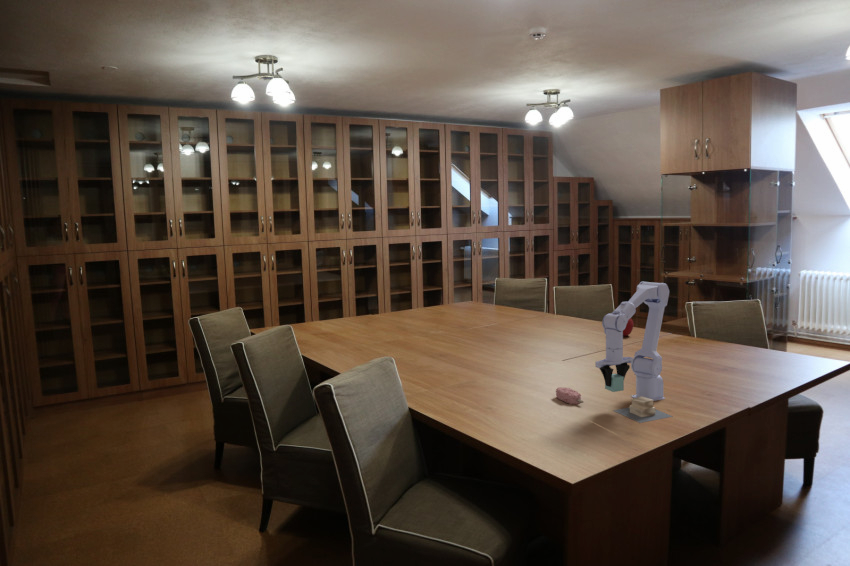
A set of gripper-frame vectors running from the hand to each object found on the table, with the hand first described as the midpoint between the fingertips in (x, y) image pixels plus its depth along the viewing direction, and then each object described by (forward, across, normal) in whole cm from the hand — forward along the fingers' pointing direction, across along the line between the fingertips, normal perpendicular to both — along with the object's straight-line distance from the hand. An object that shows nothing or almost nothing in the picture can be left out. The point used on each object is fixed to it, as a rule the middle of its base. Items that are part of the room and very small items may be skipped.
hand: (614, 384), depth 210 cm
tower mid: (+7, -6, +8) cm, 12 cm away
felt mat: (+9, -6, +8) cm, 13 cm away
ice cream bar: (+10, +8, -16) cm, 20 cm away
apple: (+10, -84, -100) cm, 131 cm away
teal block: (+2, 0, 0) cm, 2 cm away
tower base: (+9, -6, +8) cm, 13 cm away
